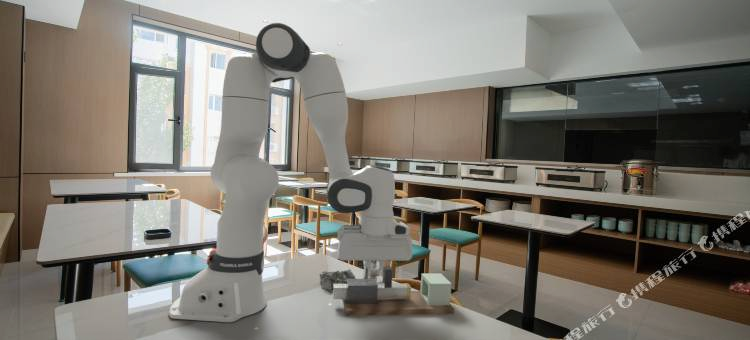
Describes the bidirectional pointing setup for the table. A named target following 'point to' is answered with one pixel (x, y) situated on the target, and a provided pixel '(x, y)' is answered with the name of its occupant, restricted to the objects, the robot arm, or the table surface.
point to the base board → (397, 307)
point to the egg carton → (335, 278)
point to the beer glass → (365, 274)
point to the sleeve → (361, 291)
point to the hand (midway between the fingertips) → (373, 275)
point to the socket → (435, 289)
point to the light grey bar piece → (379, 288)
